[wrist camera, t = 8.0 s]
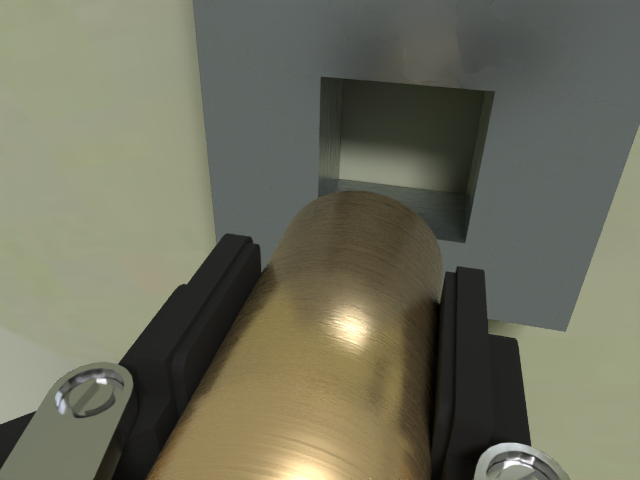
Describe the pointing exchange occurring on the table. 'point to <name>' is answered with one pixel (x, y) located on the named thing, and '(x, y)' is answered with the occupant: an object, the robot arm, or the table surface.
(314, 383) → the tan cylinder
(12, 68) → the table surface
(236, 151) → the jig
